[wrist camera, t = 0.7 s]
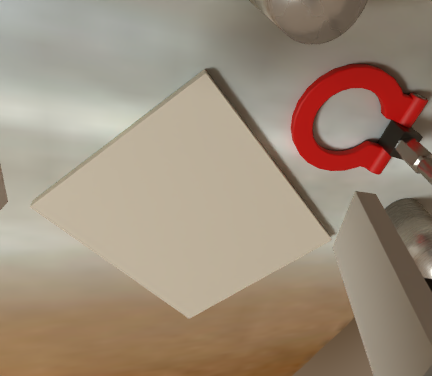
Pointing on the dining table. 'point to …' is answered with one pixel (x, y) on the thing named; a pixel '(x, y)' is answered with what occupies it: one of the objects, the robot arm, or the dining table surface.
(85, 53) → the dining table surface
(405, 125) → the tow hook
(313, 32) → the spacers
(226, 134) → the mat
